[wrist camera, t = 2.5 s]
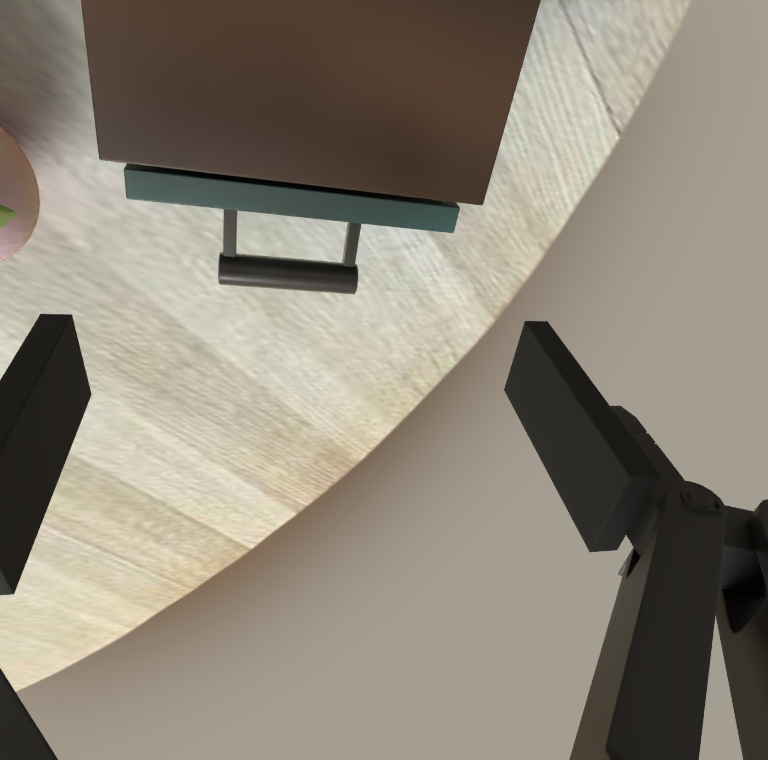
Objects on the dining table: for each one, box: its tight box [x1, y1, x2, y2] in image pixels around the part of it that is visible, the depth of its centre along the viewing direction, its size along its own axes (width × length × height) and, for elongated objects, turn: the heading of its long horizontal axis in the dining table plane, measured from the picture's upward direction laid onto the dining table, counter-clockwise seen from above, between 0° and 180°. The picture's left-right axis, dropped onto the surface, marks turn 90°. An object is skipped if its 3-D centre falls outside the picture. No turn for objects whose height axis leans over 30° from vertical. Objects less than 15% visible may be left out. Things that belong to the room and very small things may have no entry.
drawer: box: [124, 163, 460, 294], centre depth 24 cm, size 22×14×9 cm, turn 170°
